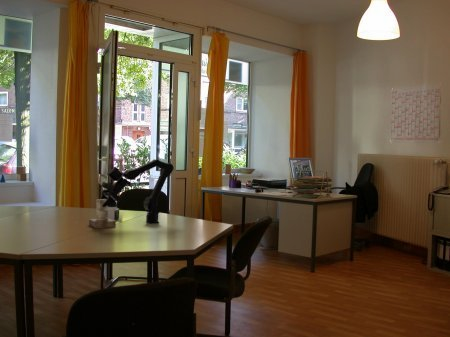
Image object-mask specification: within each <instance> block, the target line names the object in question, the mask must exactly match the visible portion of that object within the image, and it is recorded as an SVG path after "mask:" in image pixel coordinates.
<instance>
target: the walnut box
mask: <svg viewBox="0 0 450 337" xmlns="http://www.w3.org/2000/svg"><path fill="white" fill-rule="evenodd" d="M116 222H117V221H114V220H112V219H110V218H108V220H102V221H99V220H97V218H89V219H88V226H90V227H92V228H94V229H96V230H97V229H107V228H116V227H117V226H116Z"/></svg>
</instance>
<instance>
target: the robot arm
mask: <svg viewBox="0 0 450 337" xmlns="http://www.w3.org/2000/svg"><path fill="white" fill-rule="evenodd" d="M155 167H157V168H158V169H160V170H159V176H158V178H157V180H156V182H155V185H154V187H153V188H152V189H153V190H152V192H151V193H150V195H149V196H146V197H145V199H144V201H143V208H144V210H145V211H146V215H145V216H146V219H145V220H146V221H145V222H146V223H147V224H159V223H160V222H159V213H160V210H161V209H160V208H159V207H158V206H157V205H158V198H159V197H160V194H161V191H162V189H163V187H164V184H165V182H166V180H167V178H168V177H169V176H170V175H171V174H172V172H174V171H173V170H174V169H175V168H174V164H173V163H169V162H163V161H161V160H159V159H152V160H151V161H148V162H147V163H145V164H141V165H140V166H138V167H134V168H130V169H126V170H125V171H123V172H121V171H120V170H119V168H118V167H117V166H114V167H113V168H111V169H110V170H109V171H107V174H106V175H107V177H109V178H110V179H111V180H112V181H113V182H115V183H113V184H112V183H111V182H105V181H102V182H101V185H100V188H103V189H102V190H101V191H100V198H99V199H107V200H106V201H105V203H104V204H103V207H106V206H108V205H110V204H113V203H115V202H117V203H119V201H120V200H121V196H119V194H120V193H122V192H123V190H124V189H125V187H127V186H128V187H132V184H131V181H134V180H135V179H137V178H138V177H139V176H140V175H141V174H143V173H145V172H147V171H149V170H152V169H154V168H155ZM128 180H130V181H128Z"/></svg>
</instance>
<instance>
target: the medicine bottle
mask: <svg viewBox="0 0 450 337" xmlns="http://www.w3.org/2000/svg"><path fill="white" fill-rule="evenodd" d="M108 218H110V219H112V220H114V221H116V222H117V221H119V220H120V208H118V202H117V201H116V202H115V203H113V204H110V205H108Z"/></svg>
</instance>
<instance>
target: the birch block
mask: <svg viewBox="0 0 450 337" xmlns="http://www.w3.org/2000/svg"><path fill="white" fill-rule="evenodd" d="M106 200H107V199H100V198H99V199H98V198H97V199H96V201H95V202H96V207H95V208H96V210H95V211H96V219H97V220H99V221H102V220H108V206H106V207H103V204H104V203H105V201H106Z"/></svg>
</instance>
